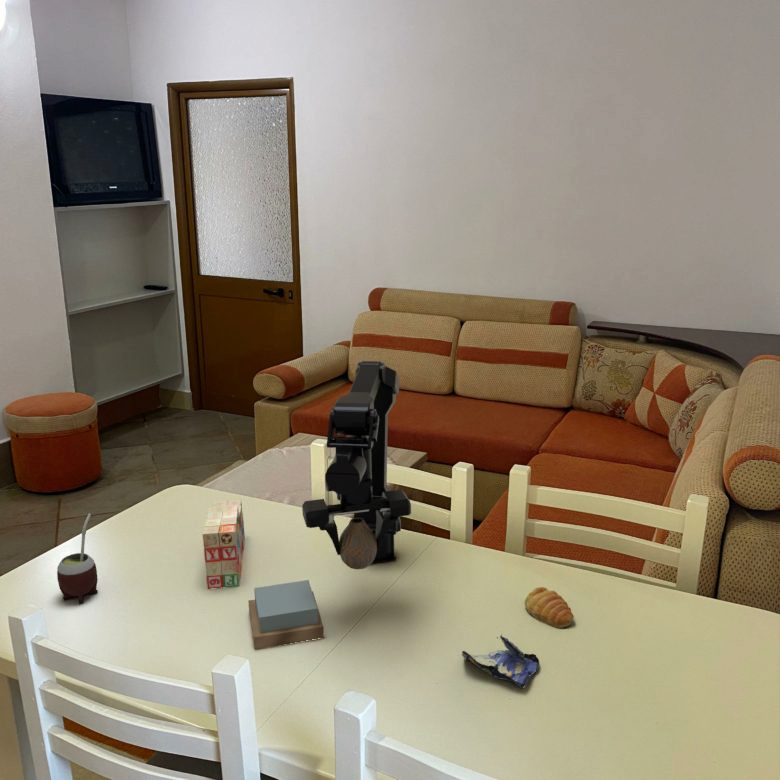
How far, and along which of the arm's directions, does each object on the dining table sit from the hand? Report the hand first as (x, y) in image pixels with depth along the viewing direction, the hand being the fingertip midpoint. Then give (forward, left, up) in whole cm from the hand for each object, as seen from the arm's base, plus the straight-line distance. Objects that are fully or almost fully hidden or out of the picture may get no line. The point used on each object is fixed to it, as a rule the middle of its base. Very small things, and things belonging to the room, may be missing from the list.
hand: (358, 551), depth 138 cm
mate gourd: (+51, -20, -12) cm, 56 cm away
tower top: (+14, +1, -10) cm, 17 cm away
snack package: (-19, +23, -13) cm, 32 cm away
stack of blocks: (+23, -25, -12) cm, 36 cm away
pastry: (-33, +10, -12) cm, 37 cm away
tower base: (+14, +1, -13) cm, 19 cm away
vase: (0, 0, -3) cm, 3 cm away
